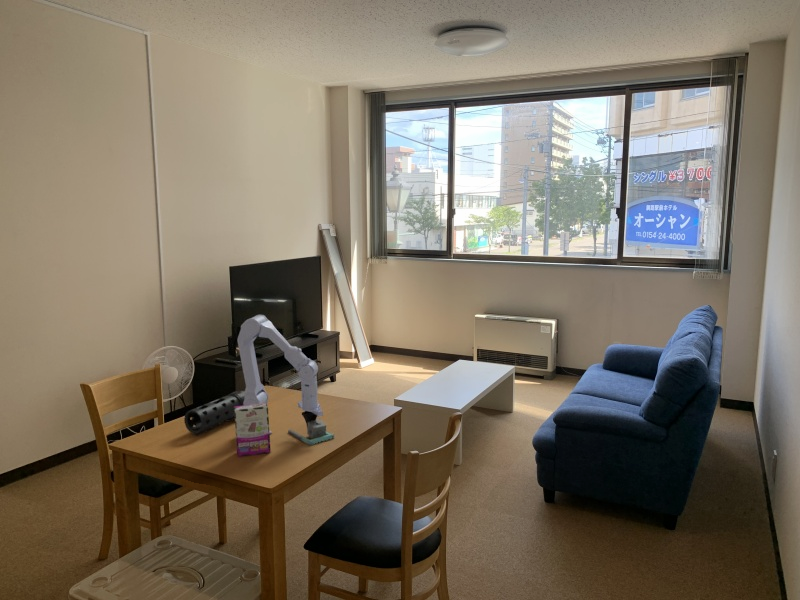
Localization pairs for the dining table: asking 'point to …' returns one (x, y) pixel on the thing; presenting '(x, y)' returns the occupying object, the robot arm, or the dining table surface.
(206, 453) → the dining table surface
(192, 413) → the muzzle brake
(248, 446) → the candy bar box
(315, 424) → the dice cube
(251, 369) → the robot arm
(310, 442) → the guide lane
